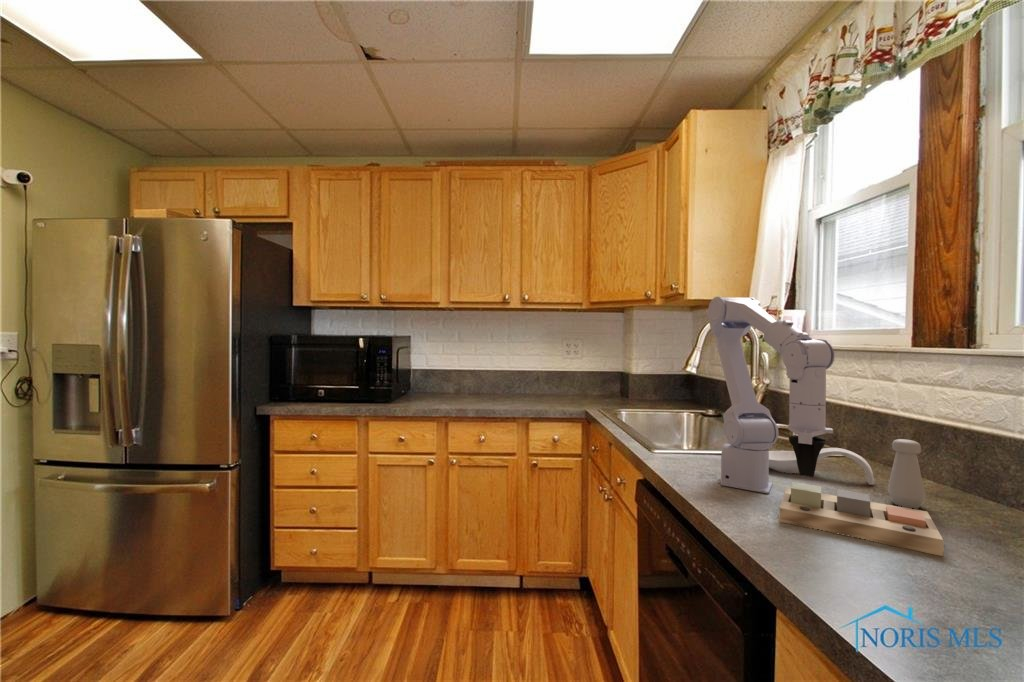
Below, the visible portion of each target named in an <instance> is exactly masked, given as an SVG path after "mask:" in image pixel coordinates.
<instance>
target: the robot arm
mask: <svg viewBox="0 0 1024 682" xmlns="http://www.w3.org/2000/svg"><path fill="white" fill-rule="evenodd" d="M706 316H707V320H708V324H709V328H710V331H711V334H712V335H713V336H714V340H715V344H716V347H717V348H716V349H717V351H718V352H717V353H718V355H719V359H720V363H721V368H722V371H723V375H724V378H725V383H726V384H725V385H726V387H727V391H728V395H729V400H730V403H731V406H730V407H729V408H728V409H726V410H725V412H723V415H722V417H723V433H724V436H725V439H726V440H727V442H728V443H723V445H722V448H721V453H720V454H721V455H720V456H721V458H720V461H721V462H720V464H721V465H720V486H723V487H724V486H725V487H729V488H735V489H740V490H741V489H742V490H746V491H751V492H756V493H757V492H758V493H763V494H769V492H770V491H771V488H772V486H773V482H771V481H769V478H770V477H769V475H770V474H769V473H770V468H769V451H770V449H773V445H774V444H775V443H777V441H778V438H779V427H778V424H777V423H776V421H775V420H774V419H773V417H772V414H771V411H770V409H768V408H767V407H766V406H765V405H763V404H762V403H760V402H758V399H757V396H756V393H755V389H754V385H753V382H752V379H751V374H750V370H749V368H748V363H747V360H746V357H745V353H744V349H743V346H742V342H741V338H742V337H743V336H745V335H747V334H748V332H749V331H750V330H751V328H752V327H753V328H754V329H757V330H758V331H759V332H761V333H762V334H763V340H764V342H765V343H766V344H767V345H769V346H770V347H771V348H772V349H774V350H775V351H776V352H777V353H778V354H780V355H781V359H782V362H783V365H784V366H785V370H786V376H787V379H789V395H788V396H789V399H788V400H789V407H788V408H789V409H788V413H789V414H788V416H789V417H788V420H789V421H788V425H787V430H789V431H791V432H792V433H794V434H792V435H789V436H788V440H789V444H790V445H791V447H792V449H793V451H794V452H795V455H796V460H797V465H798V470H799V473H798V474H799V475H800V476H804V477H810V478H813V477H814V475H815V472H816V469H817V463H818V461H817V459H818V455H819V453H820V451H821V449H823V448H824V446H825V444H826V438H825V437H823V436H822V435H825V434H831V435H832V434H834V428H831V427H826V420H827V419H826V415H827V414H826V413H827V409H826V408H827V407H826V406H827V370H828V369H829V368H830V367H832V365H833V364H834V361H835V350H834V348H833V346H832V344H830V343H829V342H828V341H827V340H826V339H823V338H821V339H820V338H819V339H818V338H817V339H814V338H812V337H810V334H809V333H807V332H805V331H801V330H800V329H799V328H797V327H796V326H794V322H793V321H791V319H789V320H788V319H780V320H776V319H775V318H774V317H772V315H771V314H769V313H768V312H767V311H766V310H764V309H763V308H762V306H761V302H760V301H759V300H757V299H756V298H755V297H751V296H749V297H721V296H715V297H713V298H712V299H711V301H709V305H708V308H707V312H706ZM795 434H796V435H795Z"/></svg>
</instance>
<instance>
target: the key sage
mask: <svg viewBox="0 0 1024 682" xmlns="http://www.w3.org/2000/svg"><path fill="white" fill-rule="evenodd" d="M790 488H791V503H795V504H801V505H806V506H811V507H817V508H821V493H822V486H819V485H813V484H808V483H802V482H797V481H796V482H794V481H792V483H791V486H790Z"/></svg>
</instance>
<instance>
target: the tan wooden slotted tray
mask: <svg viewBox="0 0 1024 682" xmlns="http://www.w3.org/2000/svg"><path fill="white" fill-rule="evenodd" d="M781 499H782V500H781V503H780V506H779V522H780V523H785V524H789V525H794V526H798V525H799V527H803V526H805V527H804V528H807V527H809V528H808V529H812V528H814V529H813V530H817V529H819V530H818V531H821V530H823V531H822V532H826V531H828V532H827V533H831V532H833V533H832V534H836V533H839V534H838V535H840V534H844V535H843V536H845V535H849V536H848V537H850V536H853V537H852V538H854V537H858V538H857V539H859V538H861V539H860V540H864V539H866V540H865V541H869V540H870V542H873V541H874V543H878V542H879V544H883V545H889V546H894V547H898V548H902V549H907V550H912V551H917V552H922V553H926V554H931V555H935V556H939V557H944V539H943V537H942V535H941V533H940V531H939V530H938V528H937V526H936V525H935V522H934V521H933V519H932V517H931V515H930V513H929V512H928V511H927V510H921V509H912V508H905V507H901V506H897V505H891V504H885V503H880V502H873V501H870V517H865V516H859V515H854V514H849V513H843V512H838V511H837V495H831V494H827V493H822V492H821V508H817V507H811V506H806V505H801V504H795V503H791V487H788V486H787V487H785V490H784V494H783V497H782V498H781ZM886 506H888V507H894V508H900V509H906V510H912V511H917V512H921V513H922V515H923V517H924V519H925V521H926V528H923V527H918V526H913V525H907V524H902V523H897V522H891V521H886Z"/></svg>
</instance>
